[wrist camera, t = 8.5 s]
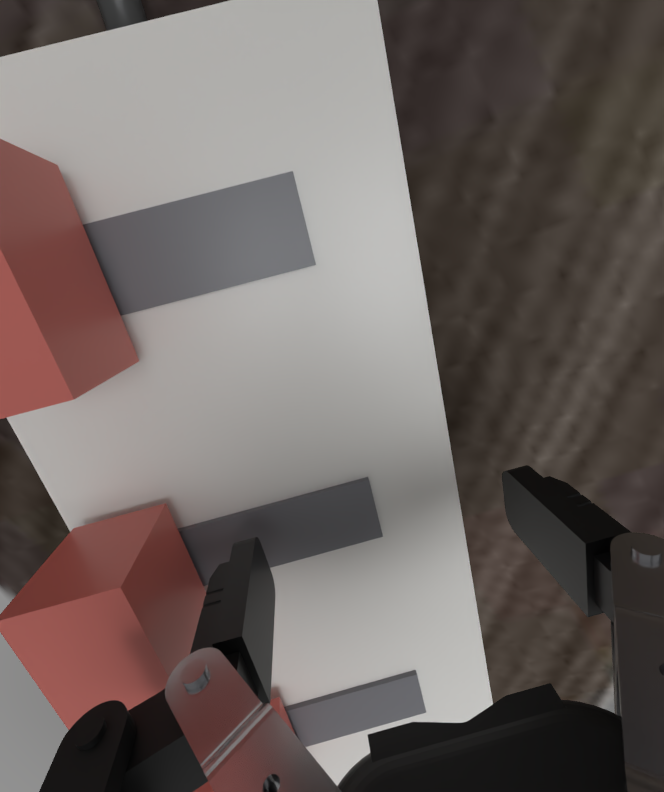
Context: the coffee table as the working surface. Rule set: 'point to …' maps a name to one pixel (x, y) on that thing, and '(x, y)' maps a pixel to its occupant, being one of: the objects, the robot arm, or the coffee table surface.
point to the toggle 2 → (107, 613)
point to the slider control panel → (265, 341)
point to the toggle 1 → (50, 293)
